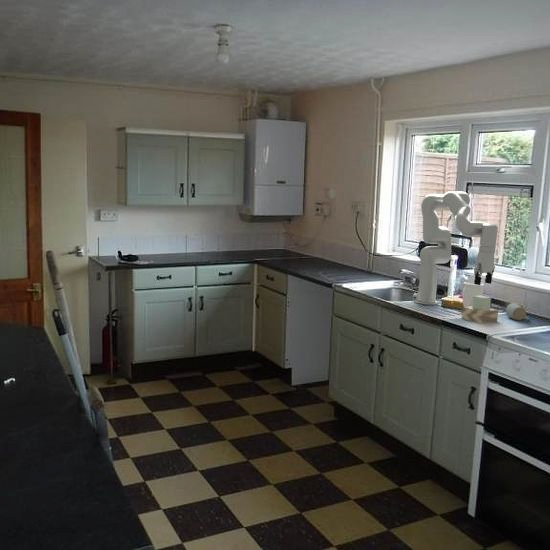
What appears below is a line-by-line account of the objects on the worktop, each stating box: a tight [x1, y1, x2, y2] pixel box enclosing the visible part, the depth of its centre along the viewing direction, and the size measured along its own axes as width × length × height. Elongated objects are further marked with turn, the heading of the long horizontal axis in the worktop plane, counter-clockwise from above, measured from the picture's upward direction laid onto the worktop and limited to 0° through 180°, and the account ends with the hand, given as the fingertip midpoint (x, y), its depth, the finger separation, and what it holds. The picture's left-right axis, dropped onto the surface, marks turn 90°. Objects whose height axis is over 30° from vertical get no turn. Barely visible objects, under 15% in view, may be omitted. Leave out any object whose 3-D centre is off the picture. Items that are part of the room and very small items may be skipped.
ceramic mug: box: [505, 302, 530, 321], centre depth 317 cm, size 11×8×8 cm
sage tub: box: [472, 295, 492, 310], centre depth 309 cm, size 6×6×6 cm
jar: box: [462, 281, 485, 307], centre depth 331 cm, size 11×10×15 cm
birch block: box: [461, 306, 499, 324], centre depth 310 cm, size 12×12×6 cm
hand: (482, 283), depth 308 cm, fingers open, 9 cm apart
